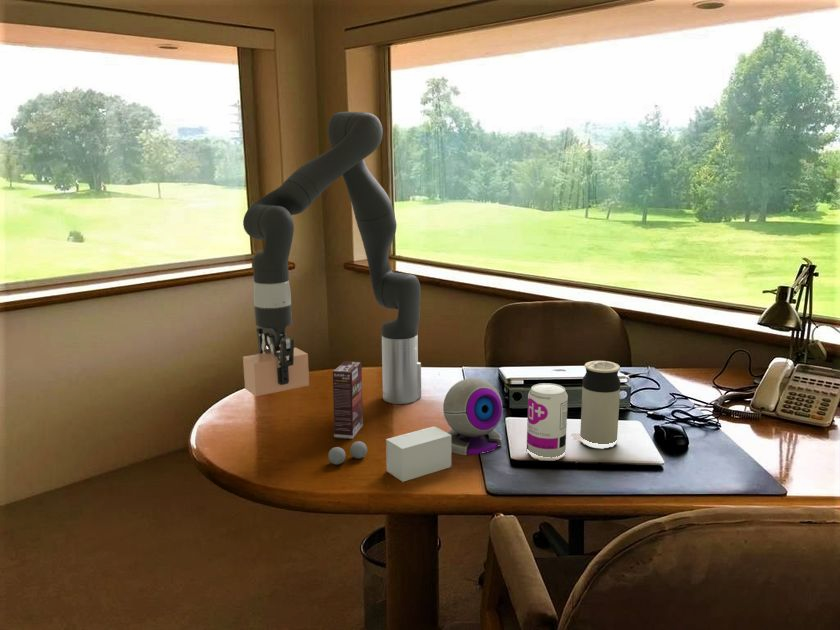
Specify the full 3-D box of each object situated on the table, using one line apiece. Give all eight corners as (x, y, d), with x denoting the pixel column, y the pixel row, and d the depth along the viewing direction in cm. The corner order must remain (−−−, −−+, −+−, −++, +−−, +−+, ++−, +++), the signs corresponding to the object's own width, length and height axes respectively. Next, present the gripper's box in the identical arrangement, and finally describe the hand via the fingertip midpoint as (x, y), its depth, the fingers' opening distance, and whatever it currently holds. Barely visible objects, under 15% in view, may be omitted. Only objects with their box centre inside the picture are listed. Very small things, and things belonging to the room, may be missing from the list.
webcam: (462, 460, 155) (463, 392, 152) (432, 439, 166) (432, 376, 162) (512, 447, 161) (514, 382, 158) (480, 428, 172) (481, 367, 168)
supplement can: (542, 466, 152) (544, 397, 148) (519, 451, 159) (520, 385, 155) (573, 458, 155) (576, 391, 152) (549, 444, 162) (551, 380, 159)
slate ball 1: (340, 458, 156) (340, 442, 155) (348, 464, 153) (348, 448, 152) (325, 462, 154) (324, 446, 153) (333, 468, 151) (333, 452, 150)
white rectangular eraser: (434, 456, 157) (434, 426, 155) (451, 466, 152) (451, 435, 150) (386, 471, 150) (386, 439, 148) (402, 481, 145) (402, 448, 144)
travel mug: (623, 442, 163) (627, 365, 159) (605, 453, 158) (609, 373, 154) (591, 433, 169) (595, 358, 165) (573, 443, 163) (576, 365, 159)
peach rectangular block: (297, 378, 161) (295, 347, 160) (309, 385, 157) (307, 353, 155) (245, 388, 155) (242, 356, 153) (255, 396, 150) (253, 363, 148)
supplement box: (353, 439, 166) (351, 372, 162) (333, 438, 167) (331, 371, 163) (364, 425, 174) (362, 361, 171) (344, 424, 175) (342, 360, 172)
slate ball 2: (361, 452, 159) (361, 437, 158) (370, 458, 156) (370, 442, 155) (347, 456, 157) (346, 441, 156) (355, 462, 154) (355, 446, 153)
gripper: (304, 306, 148) (308, 385, 152) (275, 294, 159) (279, 368, 163) (269, 311, 144) (274, 392, 148) (242, 299, 155) (247, 374, 159)
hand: (277, 379), depth 155 cm, fingers closed on peach rectangular block, 6 cm apart
